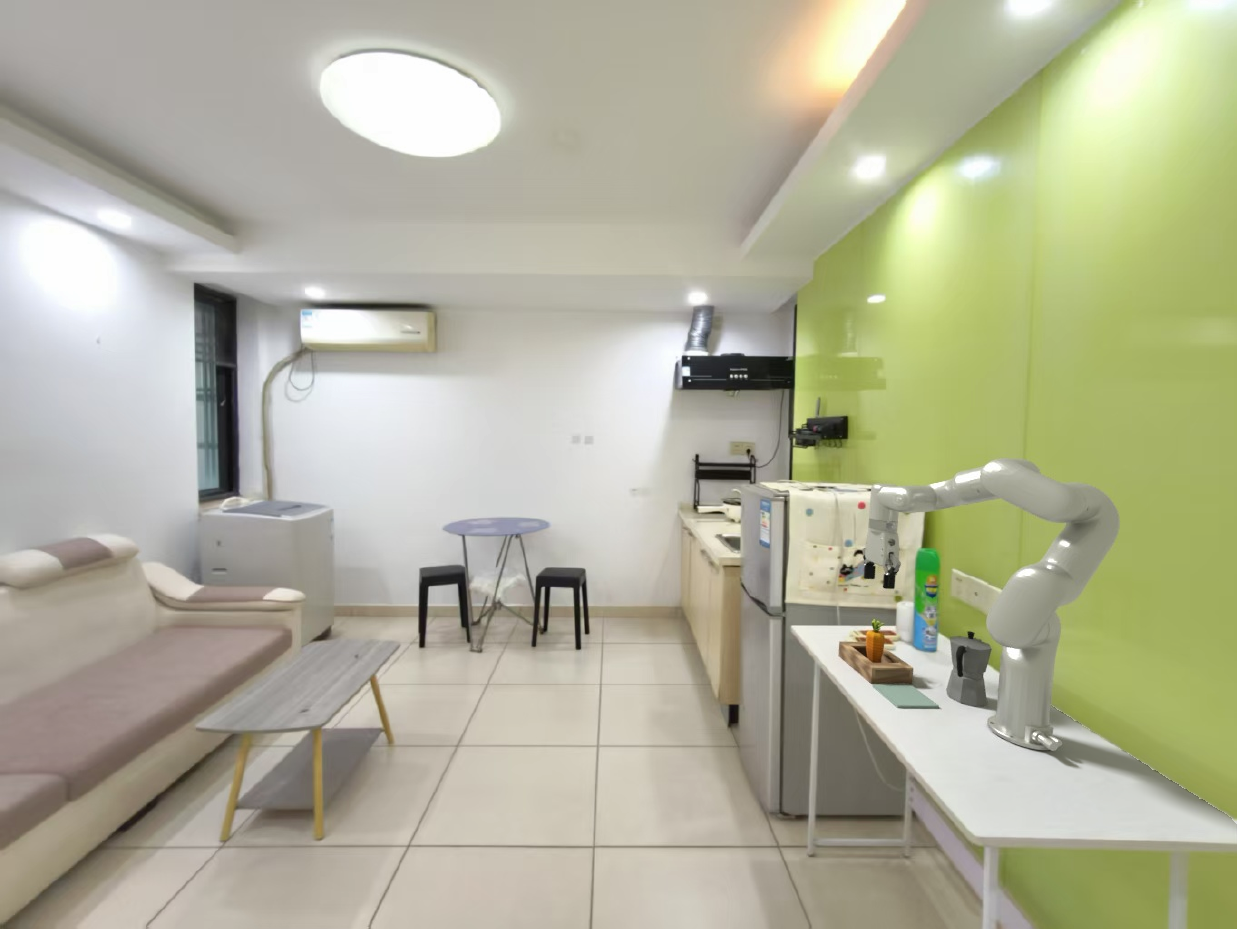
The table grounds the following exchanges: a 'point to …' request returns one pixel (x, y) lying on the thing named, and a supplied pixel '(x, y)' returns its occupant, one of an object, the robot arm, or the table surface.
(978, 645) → the coffeepot
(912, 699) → the pad
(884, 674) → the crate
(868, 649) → the carrot
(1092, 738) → the table surface
